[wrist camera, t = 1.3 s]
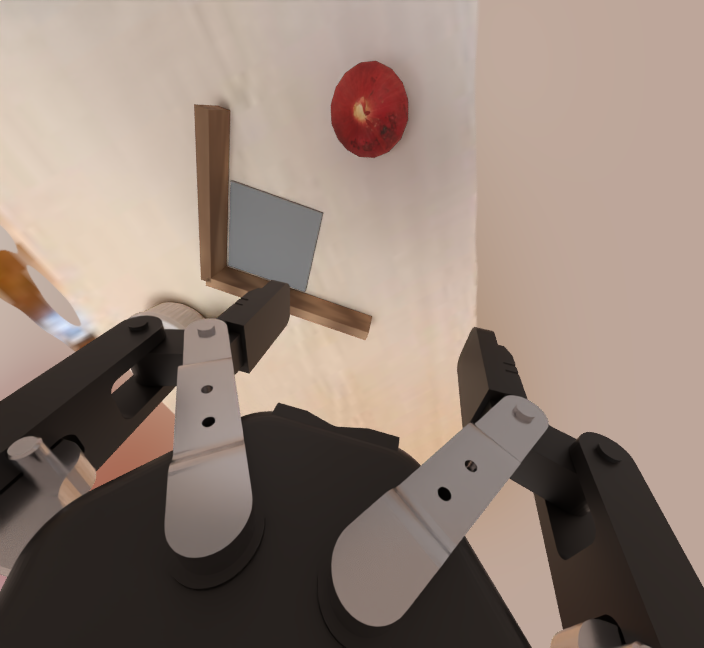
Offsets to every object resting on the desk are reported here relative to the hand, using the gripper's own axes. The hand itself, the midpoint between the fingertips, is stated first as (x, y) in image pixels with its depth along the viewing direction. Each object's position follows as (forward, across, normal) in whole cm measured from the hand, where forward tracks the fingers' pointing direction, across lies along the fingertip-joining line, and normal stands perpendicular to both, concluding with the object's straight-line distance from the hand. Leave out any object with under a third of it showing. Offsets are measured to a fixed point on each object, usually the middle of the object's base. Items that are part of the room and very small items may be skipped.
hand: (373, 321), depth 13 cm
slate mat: (+20, +14, +5) cm, 25 cm away
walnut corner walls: (+20, +10, +4) cm, 23 cm away
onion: (+20, +5, -8) cm, 22 cm away
